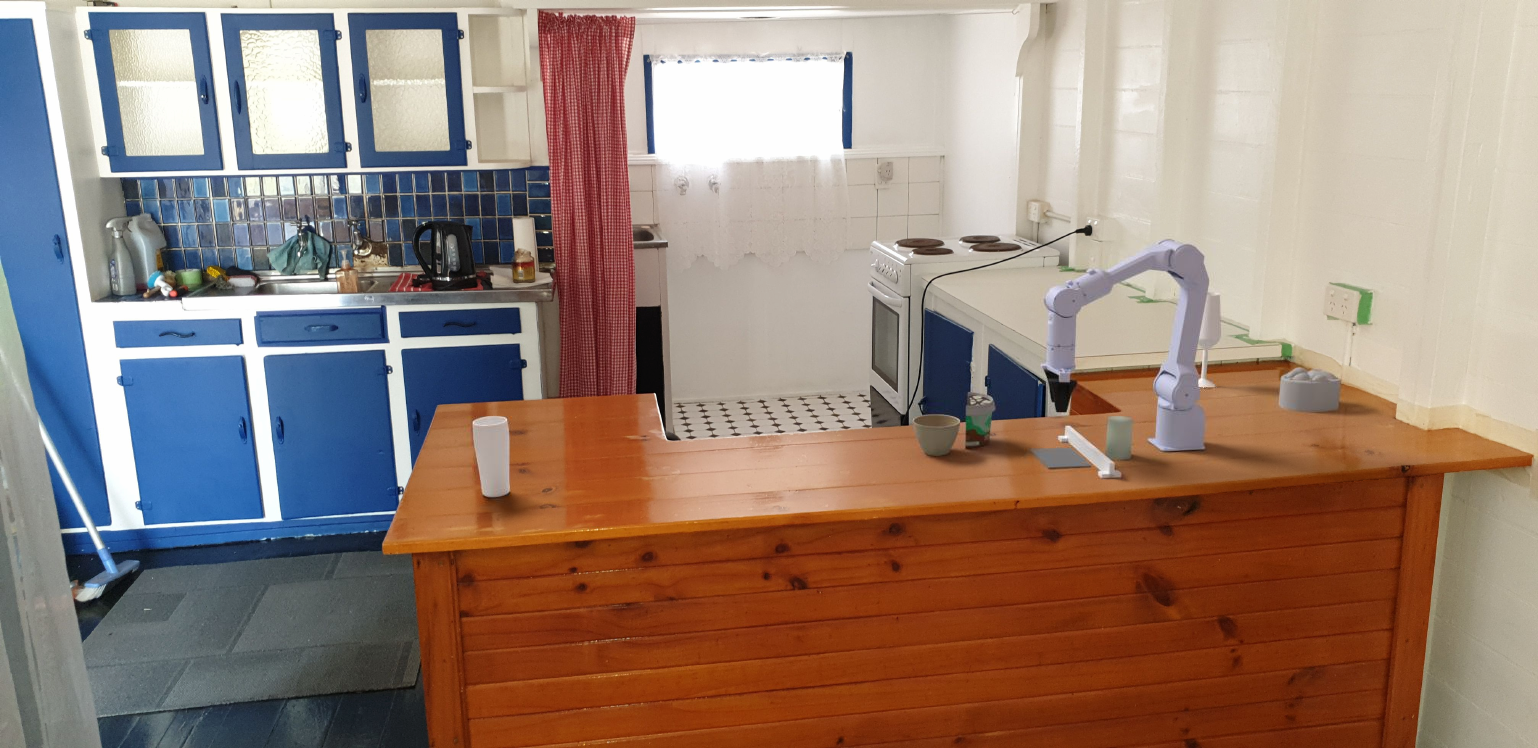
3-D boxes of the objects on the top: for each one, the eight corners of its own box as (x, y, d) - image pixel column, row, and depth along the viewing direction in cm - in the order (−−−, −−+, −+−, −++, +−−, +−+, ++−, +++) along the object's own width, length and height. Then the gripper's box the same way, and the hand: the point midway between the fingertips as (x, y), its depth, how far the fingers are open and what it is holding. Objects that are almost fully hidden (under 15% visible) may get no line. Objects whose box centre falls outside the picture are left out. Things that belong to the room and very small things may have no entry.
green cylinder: (1125, 451, 237) (1127, 415, 236) (1134, 459, 233) (1136, 422, 231) (1102, 452, 237) (1104, 416, 235) (1111, 460, 232) (1113, 423, 230)
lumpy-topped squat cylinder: (1344, 409, 264) (1348, 374, 262) (1295, 414, 262) (1298, 378, 260) (1315, 398, 274) (1318, 364, 272) (1267, 402, 272) (1270, 368, 270)
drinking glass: (481, 488, 224) (475, 416, 220) (515, 486, 224) (510, 415, 220) (475, 500, 217) (469, 426, 213) (511, 498, 218) (505, 424, 214)
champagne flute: (1191, 388, 286) (1198, 295, 280) (1186, 382, 292) (1193, 291, 286) (1219, 389, 285) (1227, 296, 279) (1213, 382, 291) (1220, 291, 285)
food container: (994, 452, 239) (995, 407, 237) (965, 451, 240) (966, 406, 238) (994, 435, 251) (995, 392, 248) (966, 434, 252) (967, 391, 250)
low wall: (1075, 438, 247) (1076, 425, 246) (1121, 477, 222) (1122, 462, 221) (1058, 439, 247) (1058, 426, 246) (1101, 478, 222) (1102, 463, 221)
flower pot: (964, 448, 242) (965, 416, 240) (952, 462, 233) (952, 429, 232) (920, 443, 246) (920, 412, 245) (906, 456, 238) (906, 424, 236)
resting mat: (1071, 448, 240) (1071, 447, 240) (1091, 466, 228) (1091, 465, 228) (1030, 450, 239) (1030, 449, 239) (1048, 468, 228) (1048, 467, 228)
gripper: (1037, 336, 240) (1035, 397, 243) (1045, 351, 226) (1043, 416, 229) (1071, 336, 239) (1069, 397, 242) (1081, 351, 225) (1078, 416, 228)
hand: (1058, 407), depth 236 cm, fingers open, 7 cm apart
